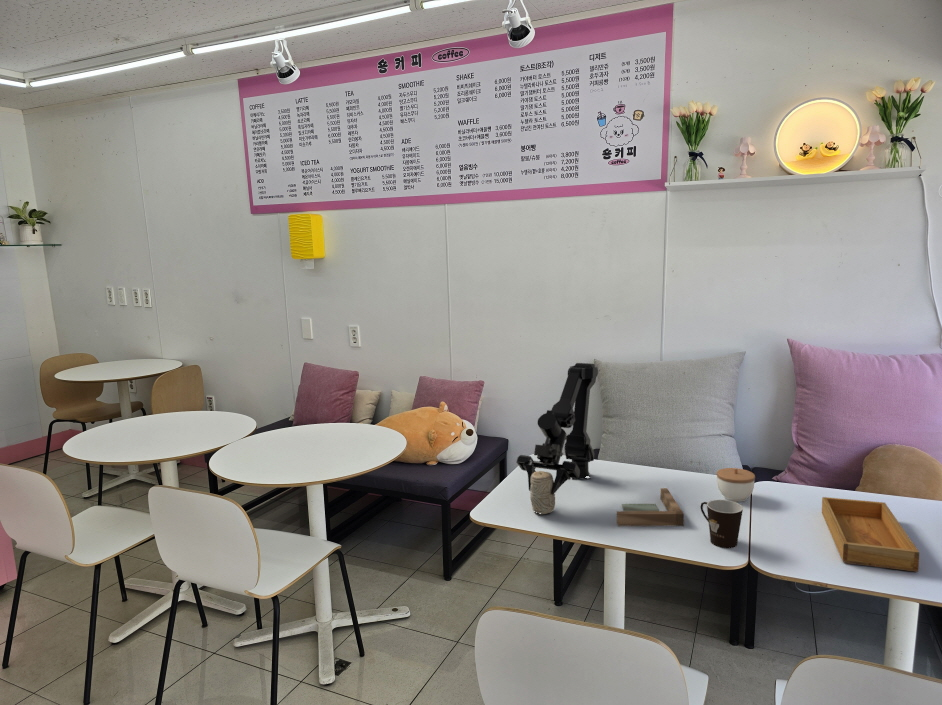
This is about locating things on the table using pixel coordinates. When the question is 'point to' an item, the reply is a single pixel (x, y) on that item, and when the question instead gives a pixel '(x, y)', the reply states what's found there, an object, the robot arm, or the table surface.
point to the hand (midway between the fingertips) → (540, 492)
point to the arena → (652, 513)
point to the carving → (542, 492)
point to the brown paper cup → (723, 522)
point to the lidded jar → (735, 483)
